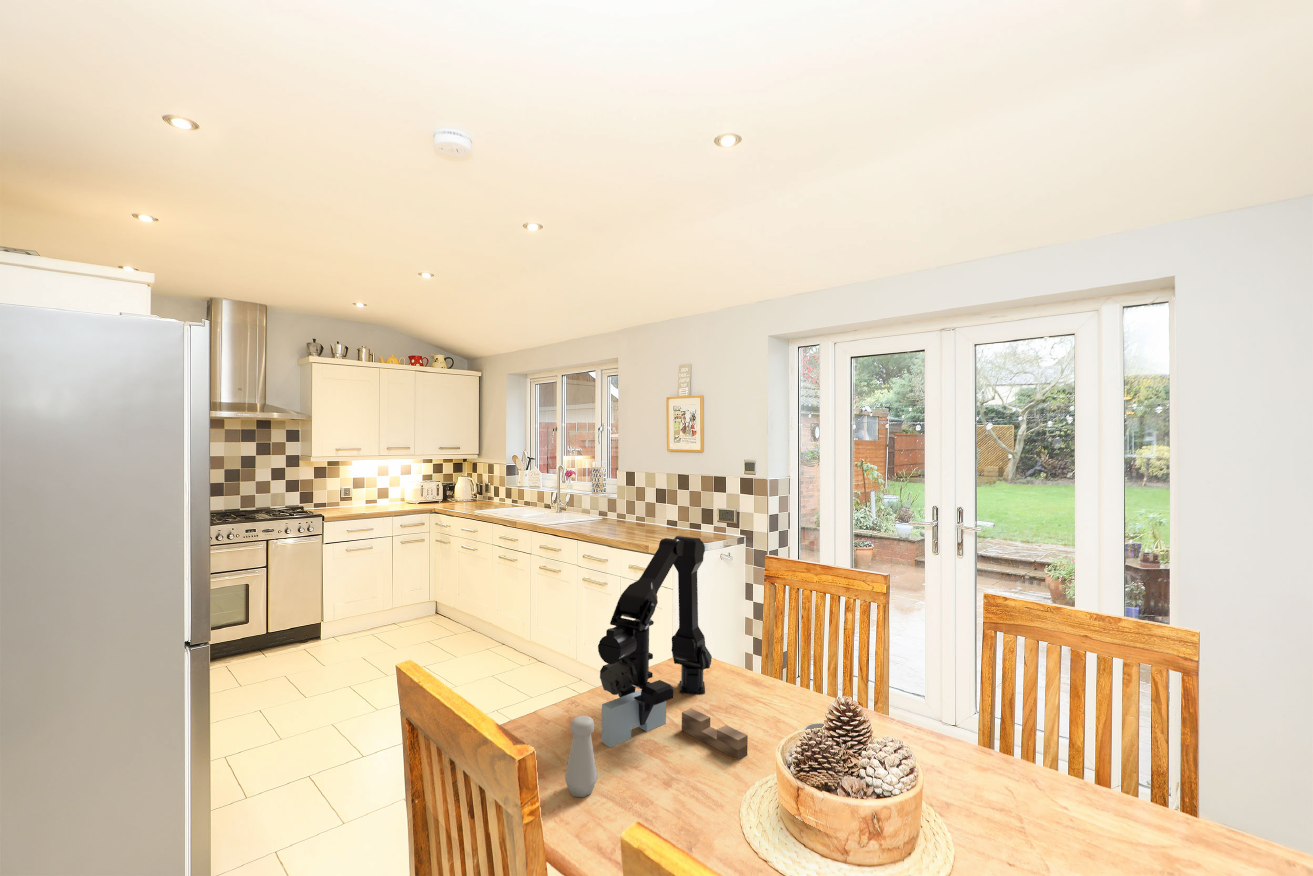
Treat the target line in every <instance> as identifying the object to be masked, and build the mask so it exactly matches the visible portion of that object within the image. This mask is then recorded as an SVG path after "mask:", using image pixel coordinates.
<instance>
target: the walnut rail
mask: <svg viewBox="0 0 1313 876" xmlns="http://www.w3.org/2000/svg"><path fill="white" fill-rule="evenodd" d="M681 731H682V732H684V733H686V734H688V735H689V736H692V737H693V738H696V739H697V740H699V741H701V742H702V743H704V744H707V745H708V746H710V747H712V748H715V749H716V750H718V751H720V752H721V753H724V754H726V755H727V756H728V757H729V756H730V757H731V758H734V760H737V761H739V760H741V759H743V758H745V757H746V756H748V739H749V738H748V734H746V733H744V732H742V731H740V730H738V729H735V728H734V727H732V726H729V725H727V724H725V725H723V726H721V727H719V728H717V729H716V728H713V727H712V726H711V716H708V715H706V714H704V713H703V712H700V711H698V710H696V709H694V708H692V707H690V708H689V709H686V710H683V711H682V712H681Z"/></svg>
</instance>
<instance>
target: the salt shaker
mask: <svg viewBox="0 0 1313 876" xmlns="http://www.w3.org/2000/svg"><path fill="white" fill-rule="evenodd" d="M569 728H570V732H571V735H573V736H572V740H571V746H570V750H569V756H568V760H567V766H566V772H565V776H564V779H565V784H566V786H567V788H568V790H569V792H570V793H571V795H572V796H573V797H576V798H585V797H587V796H590V795H591V794H592V793H593V791H594V788H595V785H596V782H597V781H598V772H597V767H596V766H597V765H596V761H595V755H594V746H593V741H592V734H593V733H594V731H595V722H594V719H593V718H591V717H590V716H588V715H579V716H576V717H574V718H573V719H572V720H571V721H570V727H569Z"/></svg>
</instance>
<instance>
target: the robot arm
mask: <svg viewBox="0 0 1313 876" xmlns="http://www.w3.org/2000/svg"><path fill="white" fill-rule="evenodd" d="M705 549H706V546H705V544H704V541H703V540H701V538H699V537H691V536H684V535H676V536H675V537H674V538H667V537H664V538H662V539H660V541H659V544H658V548H657V549H656V552H655V553H654V555H653V556H652V558H651V560H650V561H649V563H648V565H647V566H646V568H645V570H644V571H643V573H642V574H641V575H640V577H639V579H638V580H636V581H635V582H633V583H631V584H629V585H628V586H627V588H625V589H624V591H622V592H621V593H622V594H621V595H620V597H619V598H618V601H617V603H616V606H615V609H614V611H613V614H612V616H611V619H610V622H609V624H610V626H614V627H610V628H608V629H606V633H605V634H606V635H605V636H603V637H602V638H601V639H600V641H599V643H598V645H597V651H598V655H599V656H600V657H599V658H601V660H602V661H603V662H604V663H606V664H603V665H602V666H601V668H600V670H599V679H600V682H601V686H602V689H603V691H606V692H609V693H610V694H611V695H613V696H616V695H618V698H620V697H623V696H626V695H628V694H631V693H634V692H636V688H637V689H639V690H641V695H639V696H636V697H634V699H635V700H636V701H637V702H638V703H639V721H640V725H641V726H642V725H644V724H645V722H646V720H647V718H648V716H649V714H650V712H651V710H652V708H653V706H654V705H657V704H660V703H662V702H665V701H666V702H667V701H669V700H672V699H674V687H673V686H672V684H670V683H668V682H665V681H663V680H661V679H658V680H655V681H653V682H650V681H649V679H652V678H653V677H654V676H653V674H654V673H653V672H652V671H649V670H650V667H649V666H650V665H649V664H650V662H649V661H650V660H652V659H653V658H654V654H653V653H651V652H650V627H652V626H653V625H654V623H655V621H653V619H651V618H652V617H653V615H654V613H655V612H656V607H657V604H658V603H659V602H658V596H657V595H658V592H659V590H660V588H661V586H662V584H663V583H664V581H665V579H666V578H667V576H668V574H669V573H670V570H671V569H672V568H673V566H674V567H675V570H676V571H677V578H678V579H677V582H678V584H677V585H678V587H677V590H678V593H677V594H678V629H677V630H676V632H675V634H674V635H672V637H671V651H670V652H671V654H672V658H673V662H674V664H676V665H681V669H680V671H681V674H680V675H681V676H680V678H681V679H680V680H679V693H682V694H683V693H686V694H687V693H688V694H705V693H706V685H705V681H704V670H708V669H710V667H711V664H712V659H713V657H712V655H711V653H710V651H709V649H708V648H707V646H706V638H705V635H704V633H703V632H702V630H701V629H700V626H699V609H698V608H699V603H698V601H699V599H698V598H699V596H698V595H699V594H698V593H699V592H698V589H699V588H698V570H699V568H701V567H700V566H701V565H702V563H703V562H704V555H705V552H706V550H705ZM623 617H625V618H623ZM629 618H630V619H629Z"/></svg>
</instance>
